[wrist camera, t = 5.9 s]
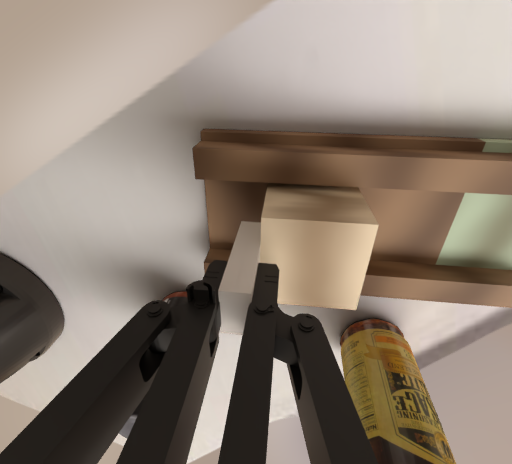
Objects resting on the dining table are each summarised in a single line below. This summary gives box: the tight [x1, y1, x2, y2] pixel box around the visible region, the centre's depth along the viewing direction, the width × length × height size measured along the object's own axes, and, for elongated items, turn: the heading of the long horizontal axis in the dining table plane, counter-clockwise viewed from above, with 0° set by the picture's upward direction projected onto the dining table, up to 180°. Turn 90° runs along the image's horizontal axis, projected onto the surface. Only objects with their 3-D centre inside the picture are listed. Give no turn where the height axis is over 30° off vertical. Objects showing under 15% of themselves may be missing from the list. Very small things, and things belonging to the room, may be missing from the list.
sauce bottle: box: [340, 319, 456, 464], centre depth 20 cm, size 6×6×20 cm
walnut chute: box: [192, 129, 512, 308], centre depth 21 cm, size 24×12×3 cm, turn 89°
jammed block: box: [260, 183, 379, 310], centre depth 19 cm, size 6×6×6 cm
